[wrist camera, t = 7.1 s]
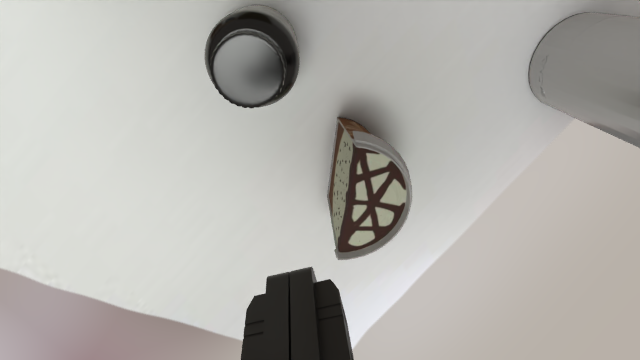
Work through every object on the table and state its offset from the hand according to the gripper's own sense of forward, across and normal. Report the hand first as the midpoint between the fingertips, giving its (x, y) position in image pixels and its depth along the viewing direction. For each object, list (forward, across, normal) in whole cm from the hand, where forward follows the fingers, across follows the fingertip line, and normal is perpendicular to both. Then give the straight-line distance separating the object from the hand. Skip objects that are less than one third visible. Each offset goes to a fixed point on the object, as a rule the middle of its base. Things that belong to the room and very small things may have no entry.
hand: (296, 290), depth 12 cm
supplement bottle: (+27, +2, -4) cm, 28 cm away
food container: (+27, -6, +9) cm, 29 cm away
